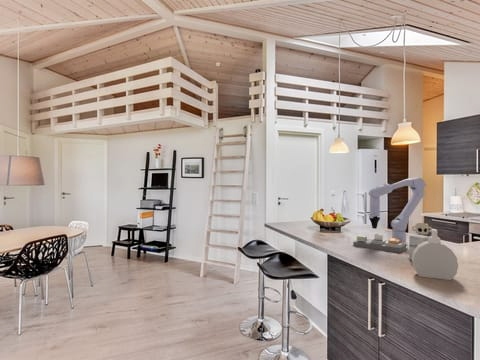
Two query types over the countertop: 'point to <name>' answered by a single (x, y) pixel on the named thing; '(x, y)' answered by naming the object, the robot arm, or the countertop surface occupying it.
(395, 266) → the countertop surface
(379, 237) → the off-white button
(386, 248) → the switch panel
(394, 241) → the brown rectangular block
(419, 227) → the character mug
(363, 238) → the pale green block
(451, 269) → the soap bottle
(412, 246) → the supplement box
